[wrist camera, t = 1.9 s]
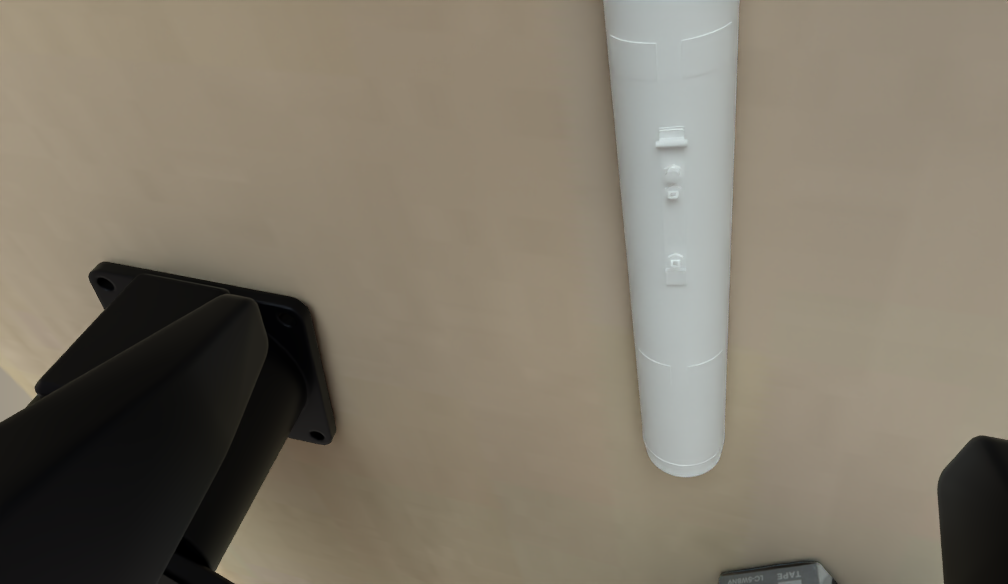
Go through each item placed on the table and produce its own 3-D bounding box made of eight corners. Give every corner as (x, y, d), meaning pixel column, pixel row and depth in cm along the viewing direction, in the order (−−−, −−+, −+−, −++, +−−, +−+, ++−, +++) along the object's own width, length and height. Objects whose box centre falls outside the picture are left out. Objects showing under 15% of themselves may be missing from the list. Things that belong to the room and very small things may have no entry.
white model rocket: (561, -592, 8) (522, -668, 6) (758, -667, 7) (777, -775, 5) (646, 412, 19) (640, 484, 17) (723, 416, 18) (725, 491, 17)
